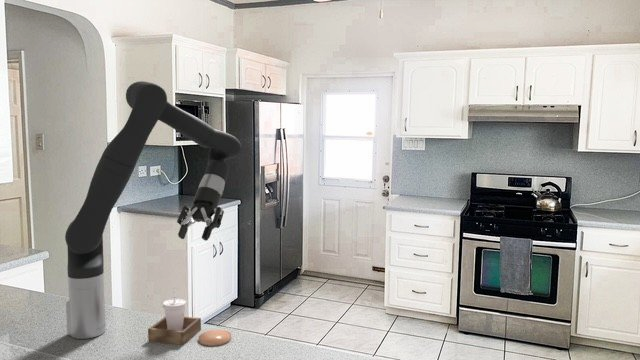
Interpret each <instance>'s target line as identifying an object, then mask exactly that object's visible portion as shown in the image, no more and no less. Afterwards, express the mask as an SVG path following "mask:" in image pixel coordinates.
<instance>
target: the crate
mask: <svg viewBox="0 0 640 360" xmlns="http://www.w3.org/2000/svg"><path fill="white" fill-rule="evenodd" d="M200 331H202V318H201V317H195V316H194V317H192V316H184V322H183V331H177V330H168V329H167V322H166V316H164V317H162V318H161V319H160V320H159V321H157V322H156V323H155V324H153V325H151V326H150V327H149V328H148V329H147V337H148V338H147V341H148V342H152V343H162V344H172V345H173V344H174V345H181V346H182V345H183V346H184V345H185V344H187V343H188V342H189V341H190V340H191V339H193V337H194V336H196V335H197V334H198V333H199V332H200ZM195 334H196V335H195Z"/></svg>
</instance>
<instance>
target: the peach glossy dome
mask: <svg viewBox="0 0 640 360" xmlns="http://www.w3.org/2000/svg"><path fill="white" fill-rule="evenodd" d="M232 337H233V336H232V333H231V332H230V331H228V330H226V329H212V330H211V329H210V330H207V331H204V332H202V333H200V334H199V336H198V343H199V344H200V345H203V346H207V345H208V347H209V346H210V347H216V346H217V347H218V346H223V345H225V344H228V343H229V342H231V340H232Z"/></svg>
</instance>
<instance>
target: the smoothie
mask: <svg viewBox="0 0 640 360" xmlns="http://www.w3.org/2000/svg"><path fill="white" fill-rule="evenodd" d="M172 289H173V290H172V291H173V293H172V294H173V298H171V299H168V300H167V299H166V300H164V301H163V303H162V308H163V309H164V315H165V316H166V322H167V330H177V331H183V330H184V329H183V322H184V317H185V313H186V306H187V301H186V299H183V298H176V287H173V288H172ZM165 316H164V317H165Z"/></svg>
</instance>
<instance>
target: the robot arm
mask: <svg viewBox="0 0 640 360" xmlns="http://www.w3.org/2000/svg"><path fill="white" fill-rule="evenodd" d="M125 101H126V103H127V104H128V107H129V108H130V109H131V112H130V114H129V116H128V119H127V120H126V122H125V125H124V126H123V127H122V129H121V130H120V131H119V132H118V134H116V136H114V138H113V139H112V140H111V141H110V142H109V143H108V144H107V146H106V147H105V149H104V150H103V151H102V154H101V157H100V158H99V160H98V163H97V165H96V167H95V170H94V173H93V176H92V177H91V181H90V184H89V187H88V191H87V194H86V198H85V199H84V201H83V203H82V206H81V207H80V209H79V211H78V213H77V214H76V216H75V217H74V219H73V220H72V221H71V222H70V223H69V225H68V226H67V229H66V232H65V233H64V234H65V236H64V237H65V238H64V240H65V242H66V246H67V283H68V284H67V287H68V301H66V303H65V310H66V313H65V314H66V316H65V317H66V332H67V333H66V334H67V336H69V337H71V338H73V339H79V340H83V339H84V340H85V339H86V340H87V339H93V338H95V337H99V336H101V335H103V334H104V333H105V332H106V331H107V327H106V326H107V324H106V323H107V322H106V319H107V318H106V302H105V301H106V299H105V298H106V297H105V275H104V273H105V272H104V271H105V269H104V268H105V266H104V239H103V236H104V235H103V234H104V232H105V229H106V225H107V223H108V220H109V217H110V215H111V213H112V210H113V209H114V207H115V205H116V203H117V202H118V200H119V198H120V197H121V195H122V193H123V191H125V188H126V186H127V184H128V182H129V180H130V178H131V176H132V174H133V172H134V169H135V168H136V166H137V163H138V161H139V158H140V156H141V154H142V152H143V150H144V148H145V146H146V143H147V140H148V139H149V137H150V134H151V133H152V131H153V129H154V128H155V126H156V124H157V123H158V121H159V122H162V123H163V124H165V125H167V126H168V127H170V128H172V129H174V131H176V132H178V133H179V134H181V135H182V136H184V137H185V138H188V139H189V140H190V141H192V142H194V143H195V144H197V145H198V146H200V147H201V148H205V149H209V151H208V158H207V167H206V170H205V171H204V174H203V177H202V178H201V180H200V182H199V185H198V188H197V190H196V192H195V196H194V198H193V204H192V206H191V207H188V206H187V205H183V207H182V208H181V210H180V211H181V212H180V213H179V216H178V218H177V220H176V223H177V224H178V225H180V228H179V231H178V233H177V236H178V238H180V239H181V240H184V239H185V238H186V235H187V234H188V233H187V232H188V230H189V228H190V227H191V226H192V225H194V224H195V223H200V222H201V223H205V224H206V226H205V227H204V230H203V233H202V234H201V238H202V239H201V240H203V241H205V242H206V241H208V240H209V239H210V238H211V234H212V231H213V230H214V229H219V228H220V226H221V223H222V220H223V217H224V214H225V210H224V209H222V207H220V206H219V203H220V201H221V198H222V195H223V193H224V189H225V184H226V181H227V180H228V179H227V178H228V176H229V172H230V166H229V165H228V164H227V163H226V161H227V160H231V159H234V158H237V157H239V156H240V154H241V153H242V144H241V142H240V140H239V139H238V138H237V137H236V136H234V135H232V134H230V133H228V132H225V131H222V130H219V129H216V128H214V127H213V126H211V125H210V124H208V123H207V122H205V121H204V120H202V119H200V118H199V117H196V115H193V114H191V113H189V112H187V111H185V110H183V109H181V108H180V107H177V106H176V105H174V104H173V103H171V102H170V101H168V96H167V93H166V91H165V89H164V88H163V86H161V85H159V84H157V83H154V82H148V81H143V80H142V81H141V80H140V81H136V82H133V83H131V84H130V85H129V86H128V87H127V89H126V92H125Z"/></svg>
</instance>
